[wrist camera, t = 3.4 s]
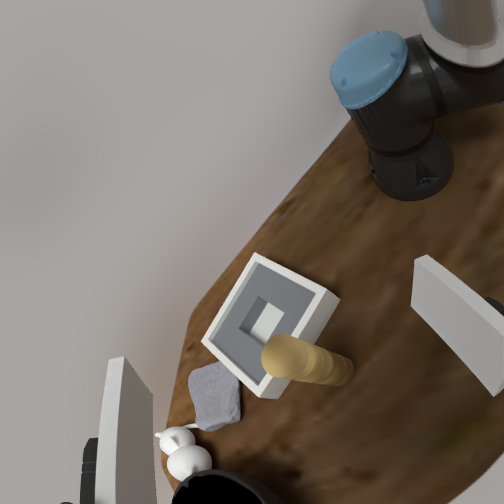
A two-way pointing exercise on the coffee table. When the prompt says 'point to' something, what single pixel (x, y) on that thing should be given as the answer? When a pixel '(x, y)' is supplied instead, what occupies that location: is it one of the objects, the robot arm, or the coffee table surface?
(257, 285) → the hole box
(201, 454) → the cat figurine
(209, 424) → the stone block
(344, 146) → the coffee table surface
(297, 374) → the peg
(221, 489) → the coal bowl
